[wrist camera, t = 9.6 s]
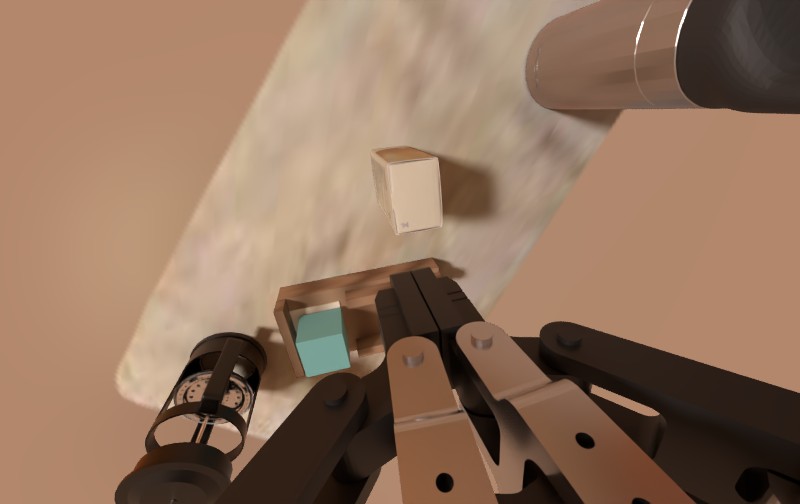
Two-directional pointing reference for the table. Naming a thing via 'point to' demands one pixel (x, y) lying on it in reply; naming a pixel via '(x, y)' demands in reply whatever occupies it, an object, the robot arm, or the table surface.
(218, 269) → the table surface
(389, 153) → the skincare box
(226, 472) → the french press
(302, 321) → the block
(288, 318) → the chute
